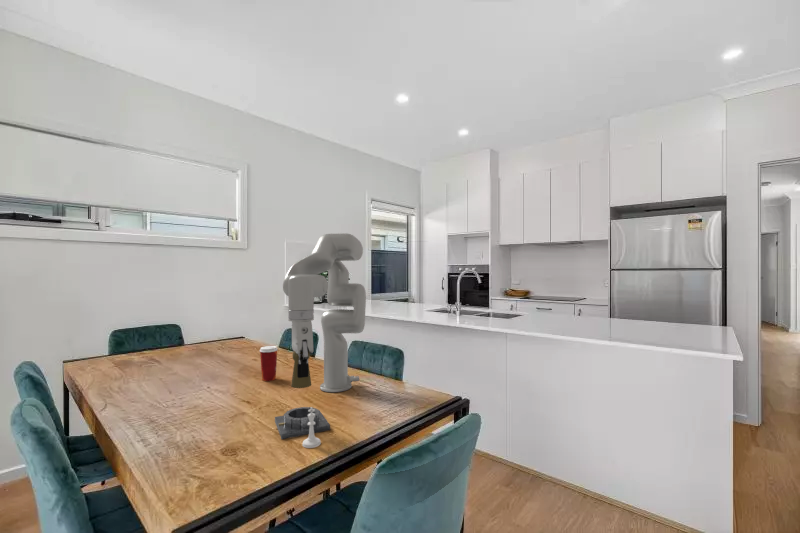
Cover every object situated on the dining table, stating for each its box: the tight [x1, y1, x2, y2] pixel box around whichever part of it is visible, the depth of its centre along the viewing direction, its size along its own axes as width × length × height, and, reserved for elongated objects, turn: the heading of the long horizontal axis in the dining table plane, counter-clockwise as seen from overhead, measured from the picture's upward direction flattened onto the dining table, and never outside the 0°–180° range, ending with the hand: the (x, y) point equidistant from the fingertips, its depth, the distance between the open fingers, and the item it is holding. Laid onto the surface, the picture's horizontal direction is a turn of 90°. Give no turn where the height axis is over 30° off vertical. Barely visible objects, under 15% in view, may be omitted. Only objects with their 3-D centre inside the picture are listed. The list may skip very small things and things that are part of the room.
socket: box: [274, 406, 331, 440], centre depth 117 cm, size 14×14×4 cm
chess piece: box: [301, 406, 322, 449], centre depth 105 cm, size 5×5×10 cm
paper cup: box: [259, 345, 279, 382], centre depth 167 cm, size 8×8×14 cm
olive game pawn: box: [290, 350, 312, 389], centre depth 117 cm, size 6×6×11 cm
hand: (301, 374), depth 117 cm, fingers closed on olive game pawn, 4 cm apart
